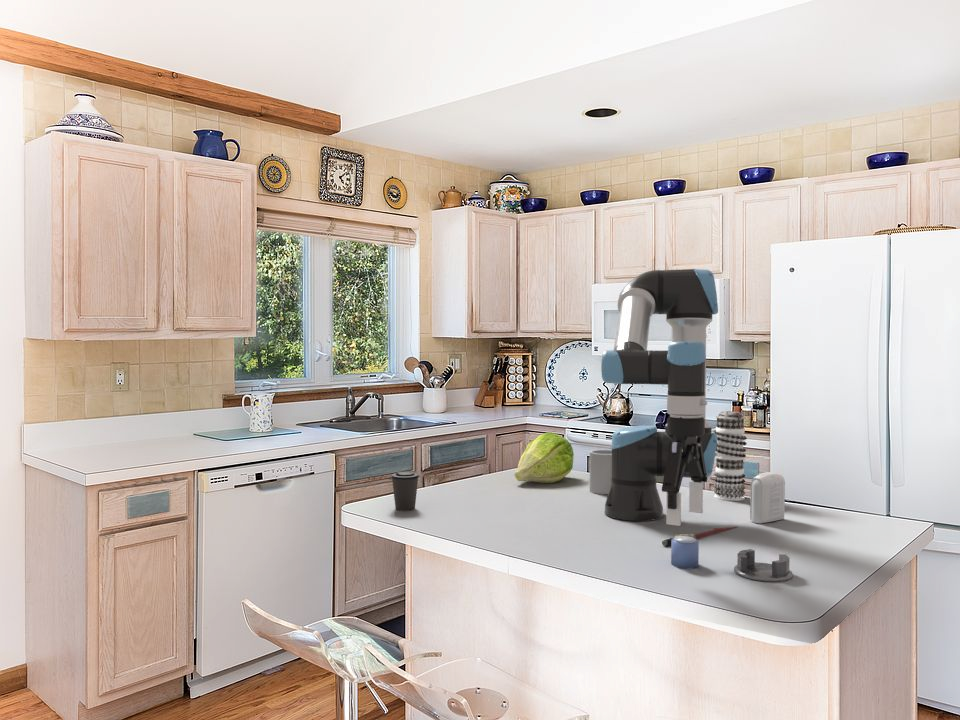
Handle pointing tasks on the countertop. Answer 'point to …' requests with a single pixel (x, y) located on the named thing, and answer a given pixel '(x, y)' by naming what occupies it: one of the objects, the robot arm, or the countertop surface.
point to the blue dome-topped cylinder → (685, 552)
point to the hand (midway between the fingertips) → (685, 518)
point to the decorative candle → (730, 456)
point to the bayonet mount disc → (762, 568)
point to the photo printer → (767, 497)
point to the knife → (698, 534)
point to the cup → (600, 471)
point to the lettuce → (545, 459)
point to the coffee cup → (405, 490)
